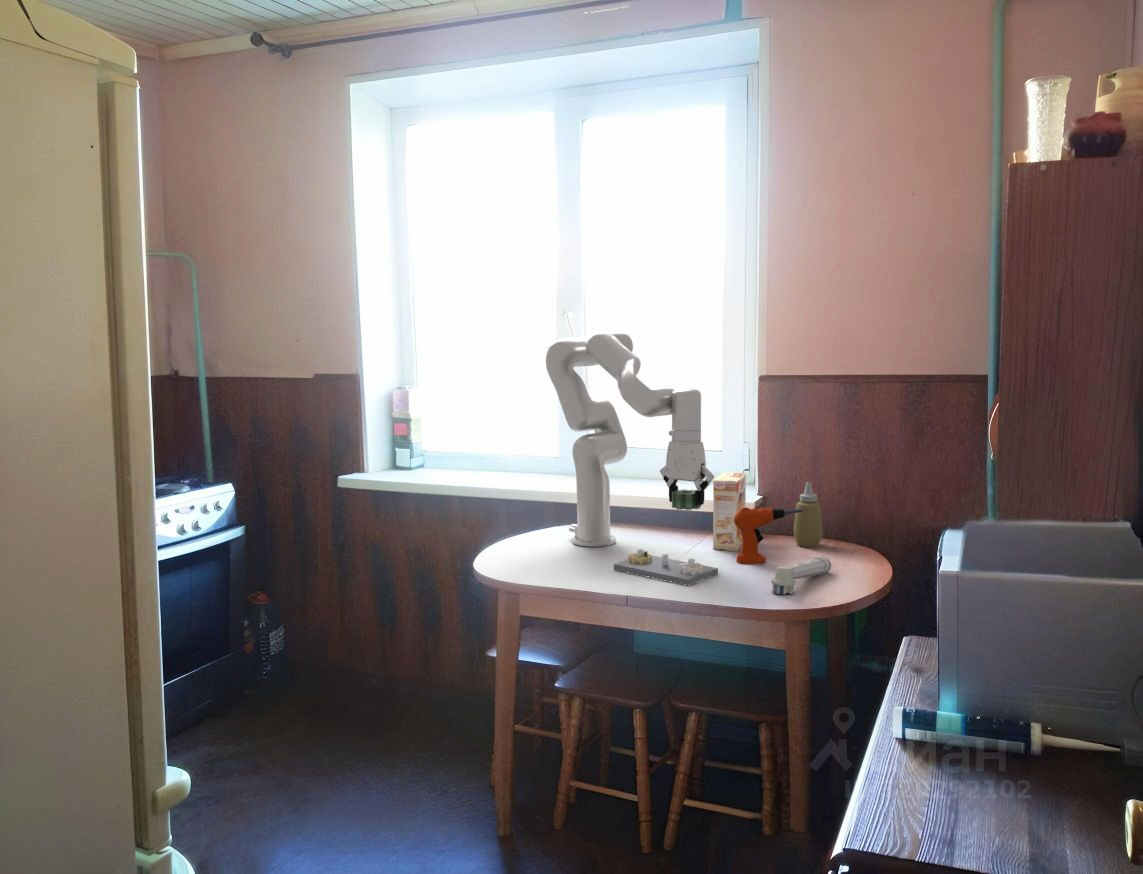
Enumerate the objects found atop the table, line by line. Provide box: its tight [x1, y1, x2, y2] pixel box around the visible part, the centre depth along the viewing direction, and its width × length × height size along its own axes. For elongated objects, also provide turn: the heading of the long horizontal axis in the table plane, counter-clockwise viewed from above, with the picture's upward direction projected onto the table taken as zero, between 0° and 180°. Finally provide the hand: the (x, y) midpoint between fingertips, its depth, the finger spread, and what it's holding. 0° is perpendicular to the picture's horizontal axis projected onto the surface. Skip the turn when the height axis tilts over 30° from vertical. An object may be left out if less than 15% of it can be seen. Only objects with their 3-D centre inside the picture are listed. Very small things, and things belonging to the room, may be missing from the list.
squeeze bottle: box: [793, 481, 824, 548], centre depth 248 cm, size 8×8×18 cm
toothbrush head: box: [771, 556, 832, 595], centre depth 212 cm, size 5×7×25 cm
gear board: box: [613, 548, 719, 586], centre depth 224 cm, size 23×13×4 cm, turn 48°
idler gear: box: [671, 488, 702, 511], centre depth 233 cm, size 8×8×4 cm
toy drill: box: [734, 506, 803, 565], centre depth 232 cm, size 5×19×15 cm, turn 91°
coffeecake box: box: [712, 472, 747, 552], centre depth 251 cm, size 15×7×20 cm, turn 160°
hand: (686, 502), depth 233 cm, fingers closed on idler gear, 7 cm apart
